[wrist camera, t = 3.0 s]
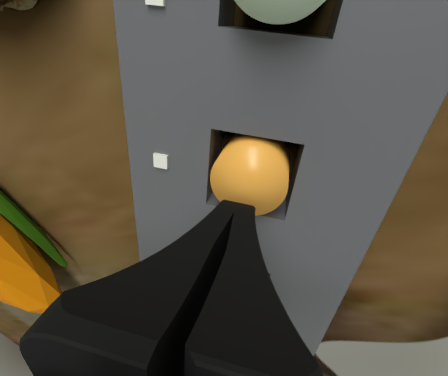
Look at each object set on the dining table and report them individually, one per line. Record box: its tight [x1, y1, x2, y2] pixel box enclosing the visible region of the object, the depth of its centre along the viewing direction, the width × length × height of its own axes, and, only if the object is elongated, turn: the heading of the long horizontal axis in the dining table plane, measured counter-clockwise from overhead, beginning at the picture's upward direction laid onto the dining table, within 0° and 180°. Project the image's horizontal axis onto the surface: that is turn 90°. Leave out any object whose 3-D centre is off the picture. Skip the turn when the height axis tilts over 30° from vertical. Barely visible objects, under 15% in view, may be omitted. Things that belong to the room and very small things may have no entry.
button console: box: [113, 0, 448, 356], centre depth 16 cm, size 14×30×3 cm, turn 174°
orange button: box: [210, 133, 290, 216], centre depth 15 cm, size 4×4×3 cm
